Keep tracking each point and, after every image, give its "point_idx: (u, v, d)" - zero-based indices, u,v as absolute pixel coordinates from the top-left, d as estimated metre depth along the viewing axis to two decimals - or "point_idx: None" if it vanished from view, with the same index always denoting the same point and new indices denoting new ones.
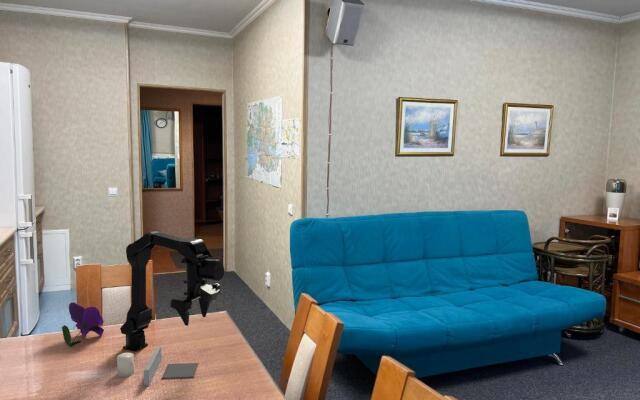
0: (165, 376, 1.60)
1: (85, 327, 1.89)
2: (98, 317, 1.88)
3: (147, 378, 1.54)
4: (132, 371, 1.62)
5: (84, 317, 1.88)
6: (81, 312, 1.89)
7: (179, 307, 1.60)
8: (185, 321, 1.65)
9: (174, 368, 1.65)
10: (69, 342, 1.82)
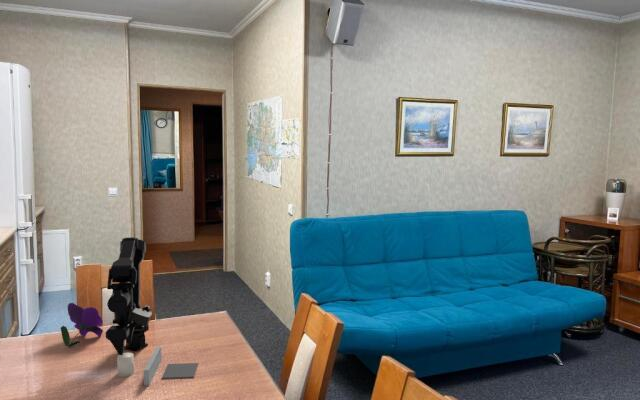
0: (165, 376, 1.60)
1: (84, 328, 1.88)
2: (97, 317, 1.87)
3: (147, 378, 1.54)
4: (132, 371, 1.62)
5: (83, 317, 1.88)
6: (80, 312, 1.89)
7: (119, 336, 1.52)
8: (120, 350, 1.56)
9: (174, 368, 1.65)
10: (68, 343, 1.81)
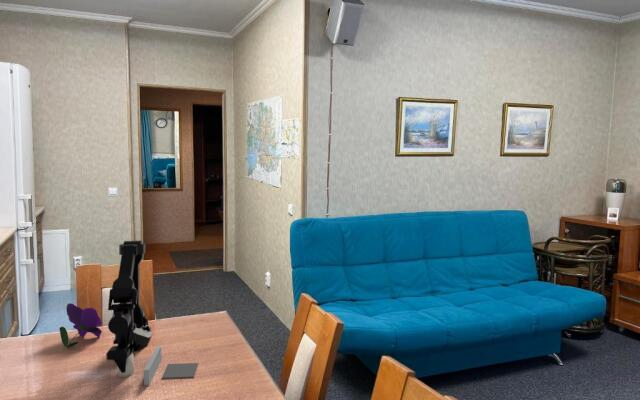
0: (165, 376, 1.60)
1: (83, 328, 1.88)
2: (96, 318, 1.87)
3: (147, 378, 1.54)
4: (132, 371, 1.62)
5: (82, 318, 1.87)
6: (79, 313, 1.88)
7: (120, 357, 1.52)
8: (122, 368, 1.59)
9: (174, 368, 1.65)
10: (67, 343, 1.81)
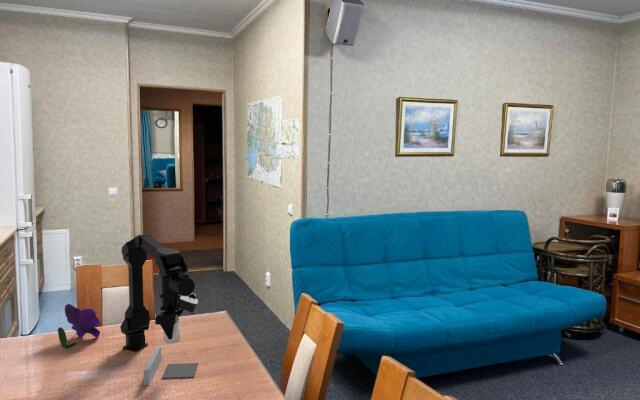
0: (165, 376, 1.60)
1: (81, 329, 1.87)
2: (94, 319, 1.86)
3: (147, 378, 1.54)
4: (178, 338, 1.62)
5: (80, 318, 1.86)
6: (77, 314, 1.87)
7: (168, 322, 1.52)
8: (169, 335, 1.59)
9: (174, 368, 1.65)
10: (65, 344, 1.80)
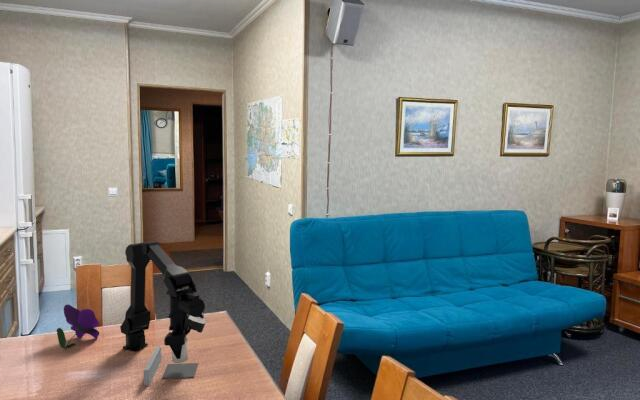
0: (165, 376, 1.60)
1: (80, 329, 1.86)
2: (93, 319, 1.86)
3: (147, 378, 1.54)
4: (186, 357, 1.63)
5: (79, 319, 1.86)
6: (76, 314, 1.87)
7: (178, 343, 1.54)
8: (178, 354, 1.60)
9: (174, 368, 1.65)
10: (64, 345, 1.79)
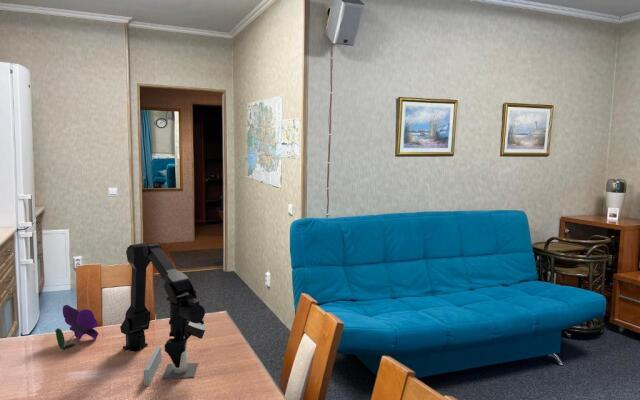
0: (165, 376, 1.60)
1: (79, 330, 1.86)
2: (92, 320, 1.85)
3: (147, 378, 1.54)
4: (187, 368, 1.64)
5: (78, 319, 1.85)
6: (75, 315, 1.86)
7: (178, 349, 1.54)
8: (177, 363, 1.58)
9: None
10: (63, 345, 1.79)
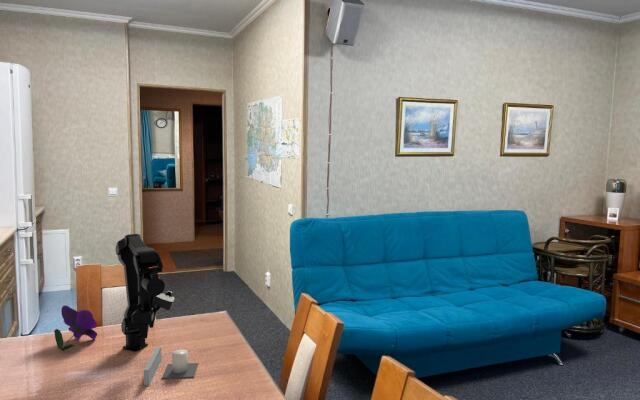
0: (165, 376, 1.60)
1: (78, 331, 1.85)
2: (91, 320, 1.84)
3: (147, 378, 1.54)
4: (187, 368, 1.64)
5: (77, 320, 1.85)
6: (74, 315, 1.86)
7: (145, 320, 1.56)
8: (144, 334, 1.61)
9: None
10: (61, 346, 1.78)
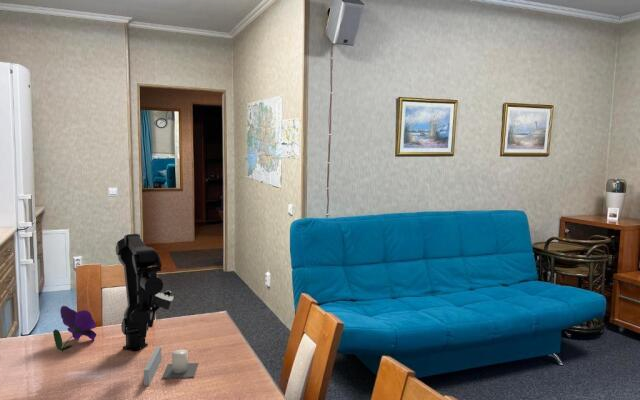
0: (165, 376, 1.60)
1: (77, 331, 1.85)
2: (90, 321, 1.84)
3: (147, 378, 1.54)
4: (187, 368, 1.64)
5: (76, 320, 1.84)
6: (73, 316, 1.85)
7: (143, 319, 1.56)
8: (143, 333, 1.61)
9: None
10: (60, 347, 1.78)
